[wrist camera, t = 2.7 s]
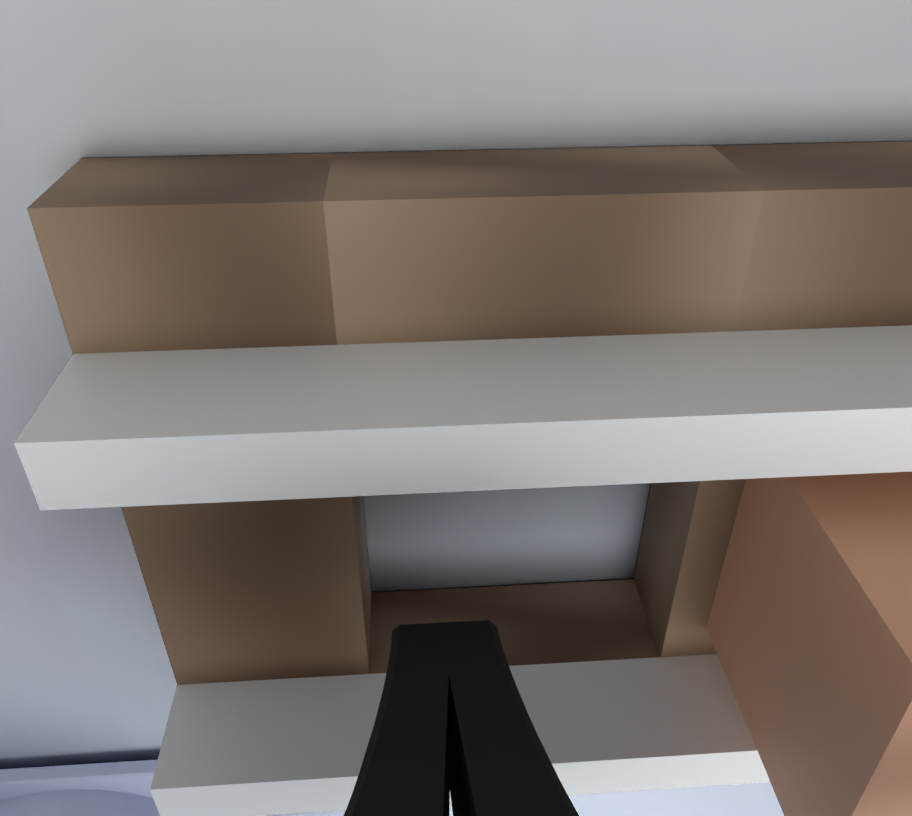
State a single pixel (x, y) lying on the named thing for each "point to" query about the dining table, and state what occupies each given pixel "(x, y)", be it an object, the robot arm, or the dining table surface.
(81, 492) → the rails
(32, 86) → the dining table surface
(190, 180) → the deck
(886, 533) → the block
